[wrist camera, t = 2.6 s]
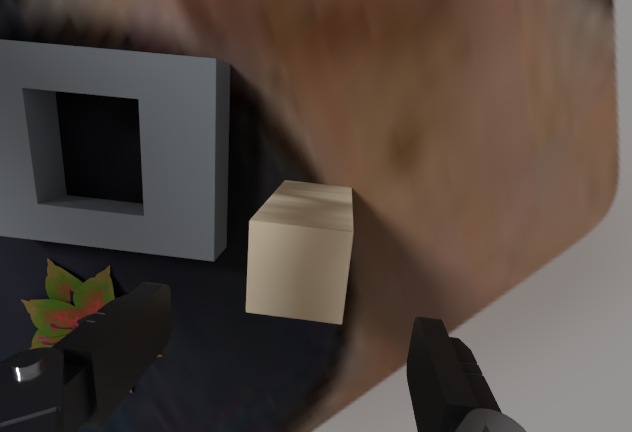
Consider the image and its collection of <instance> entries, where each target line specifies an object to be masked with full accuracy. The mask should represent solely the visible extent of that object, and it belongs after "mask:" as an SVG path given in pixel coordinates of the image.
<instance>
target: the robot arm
mask: <svg viewBox="0 0 632 432" xmlns="http://www.w3.org/2000/svg"><path fill="white" fill-rule="evenodd" d="M171 329H172V319H171V292H170V287H169V286H168V285H165V284H157V283H149V282H143V283H142V284H140V285H139V286H138V287H137V288H136V289H134V290H133V291H132V292H131V293H129V294H128V295H123V296H121V297H119V298H117V299H114V300H112V301H110V302H108V303H107V304H105V305H104V306H103V307H102V308H100V309H99V310H98V311H97V312H96V314H93V315H92V316H90V317H89V318H88V319H86V322H83V323H81V324H80V325H79V326H78V327H76V328H75V329H74V330H73V331H71V332H70V333H69V334H67V335H66V336H65V337H64V338H62V339H61V340H60V341H59V342H57V343H56V344H55V345H54V346H52V347H51V348H50V347H41V348H34V349H29V350H25V351H22V352H19V353H17V354H14V355H12V356H10V357H8V358H7V359H5V360H3V361H2V362H1V363H0V432H77V431H78V430H79V429H80V428H81V427H89V428H95V429H100V428H101V427H102V426H103V425H104V423H105V422H106V421H107V420H108V418H109V417H110V416H111V415H112V413H113V412H114V411H115V409H116V408H117V407H118V406H119V404H120V403H121V402H122V401H123V399H124V398H125V397H126V396H127V394H128V393H129V392H130V390H131V389H132V388H133V387H134V385H135V384H136V383H137V382H138V380H139V379H140V378H141V377H142V375H143V374H144V373H145V371H146V370H147V369H148V368H149V366H150V365H151V364H152V363H153V361H154V360H155V359H156V358H157V356H158V355H159V354H160V352H161V351H162V350H163V349H164V347H165V346H166V345H167V343H168V341H169V338H170V335H171ZM407 380H408V386H409V391H410V395H411V400H412V405H413V410H414V415H415V420H416V425H417V430H418V432H526V431H525V430H524V428H523V427H522V426H521V425H519V424H518V423H517V422H516V421H514V420H513V419H512V418H510V417H508V416H507V415H505V414H503V413H502V412H501V410H500V408H499V406H498V404H497V402H496V400H495V398H494V396H493V394H492V392H491V390H490V388H489V386H488V384H487V382H486V380H485V378H484V376H482V372H481V370H480V368H479V366H478V365H477V362H476V360H475V358H474V356H473V354H472V351H471V350H470V349H469V348H468V347H467V346H466V345H465V344H464V343H463V342H461V340H460V339H459V338H453V337H449V336H448V333H447V331H446V329H445V326H444V324H443V322H442V320H440V319H432V318H424V317H416V319H415V321H414V326H413V331H412V337H411V342H410V347H409V353H408V358H407Z"/></svg>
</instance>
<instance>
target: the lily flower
mask: <svg viewBox="0 0 632 432" xmlns="http://www.w3.org/2000/svg"><path fill="white" fill-rule="evenodd" d="M47 260H48V264H49V265H48V267H47V273H48V276H47V277H46V283H45V287H46V290H47V294H48V297H49V299H42V300H30V301H29V302H28V301H26V300H22V302H23V303H24V304H25V307H26V309H27V311H28V313H30V314H31V319H32V321H33V323H34V325H35V326H36V327H37V328H38V331H37V332H36V333H35V335H34V337H33V340H32V348H30V349H34V348H41V347H50V348H51V347H52V346H54V345H55V344H56V343H57V342H59V341H60V340H61V339H62V338H64V337H65V336H66V335H67V334H69V333H70V332H71V331H73V330H74V329H75V328H76V327H78V326H79V325H78V323H77V320H79V319H81V318H83V317H85V316H87V315H90V314H94V313H96V312H97V311H98V310H99V309H100V308H102V307H103V306H104V305H105V304H107V303H108V302H110V301H112V300H114V299H117V298H115V297H114V290H113V284H112V280H111V277H110V266H108V267H107V268H106V269H105V270H103V271H102V272H100V273H98V274H97V275H96V277H95V278H90V279H88V280H87V281H85V282H84V283H83V282H82V281H80V280H79V279H77V278H76V277H74V276H73V275H71V274H70V273H68V272H67V271H65V270H64V269H62V268H61V267H58V266H56V265H54V263H53V262H51V261H50V260H49V259H48V258H47ZM69 289H70V290H71V291H73V292H74V295H73V301H74V304H75V306H76V307H75V306H73V305H71V302H70V290H69ZM157 357H162V355H160V354H159V355H158V356H157ZM130 392H131V393H132V390H130Z"/></svg>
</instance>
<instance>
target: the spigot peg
mask: <svg viewBox="0 0 632 432" xmlns="http://www.w3.org/2000/svg"><path fill="white" fill-rule="evenodd" d="M353 234H354V228H353V206H352V187H343V186H333V185H324V184H315V183H305V182H296V181H287V180H285V181H284V182H283V183H282V184H281V185H280V186H279V187H278V189H277V190H276V191H275V192H274V193H273V194H272V195H271V197H270V198H269V199H268V200H267V201H266V202H265V203H264V204H263V206H262V207H261V208H260V209H259V210H258V211H257V212H256V214H255V215H254V216H253V217H252V218H251V219H250V220H249V241H248V267H247V292H246V312H248V313H256V314H264V315H272V316H279V317H287V318H295V319H303V320H311V321H319V322H327V323H334V324H342V320H343V312H344V304H345V296H346V289H347V281H348V273H349V265H350V257H351V250H352V242H353Z"/></svg>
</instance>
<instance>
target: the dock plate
mask: <svg viewBox="0 0 632 432" xmlns="http://www.w3.org/2000/svg"><path fill="white" fill-rule="evenodd" d="M55 91H60V92H70V93H80V94H91V95H101V96H112V97H122V98H132V99H138V102H139V122H140V143H141V164H142V185H143V204H141V203H132V202H123V201H114V200H105V199H96V198H88V197H79V196H70V195H67V193H66V184H65V175H64V166H63V157H62V148H61V139H60V130H59V121H58V112H57V102H56V93H55ZM229 107H230V64H229V63H226V62H224V61H221V60H218V59H215V58H203V57H192V56H181V55H170V54H159V53H147V52H136V51H125V50H114V49H102V48H91V47H80V46H69V45H58V44H46V43H35V42H24V41H13V40H1V39H0V236H7V237H15V238H24V239H32V240H40V241H49V242H57V243H65V244H73V245H82V246H90V247H98V248H106V249H115V250H123V251H131V252H139V253H148V254H156V255H164V256H173V257H181V258H189V259H197V260H206V261H215V260H216V259H217V258H218V256H219V255H220V254H221V253H222V252H223V251H224V250H225V248H226V247H227V202H228V154H229Z"/></svg>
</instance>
